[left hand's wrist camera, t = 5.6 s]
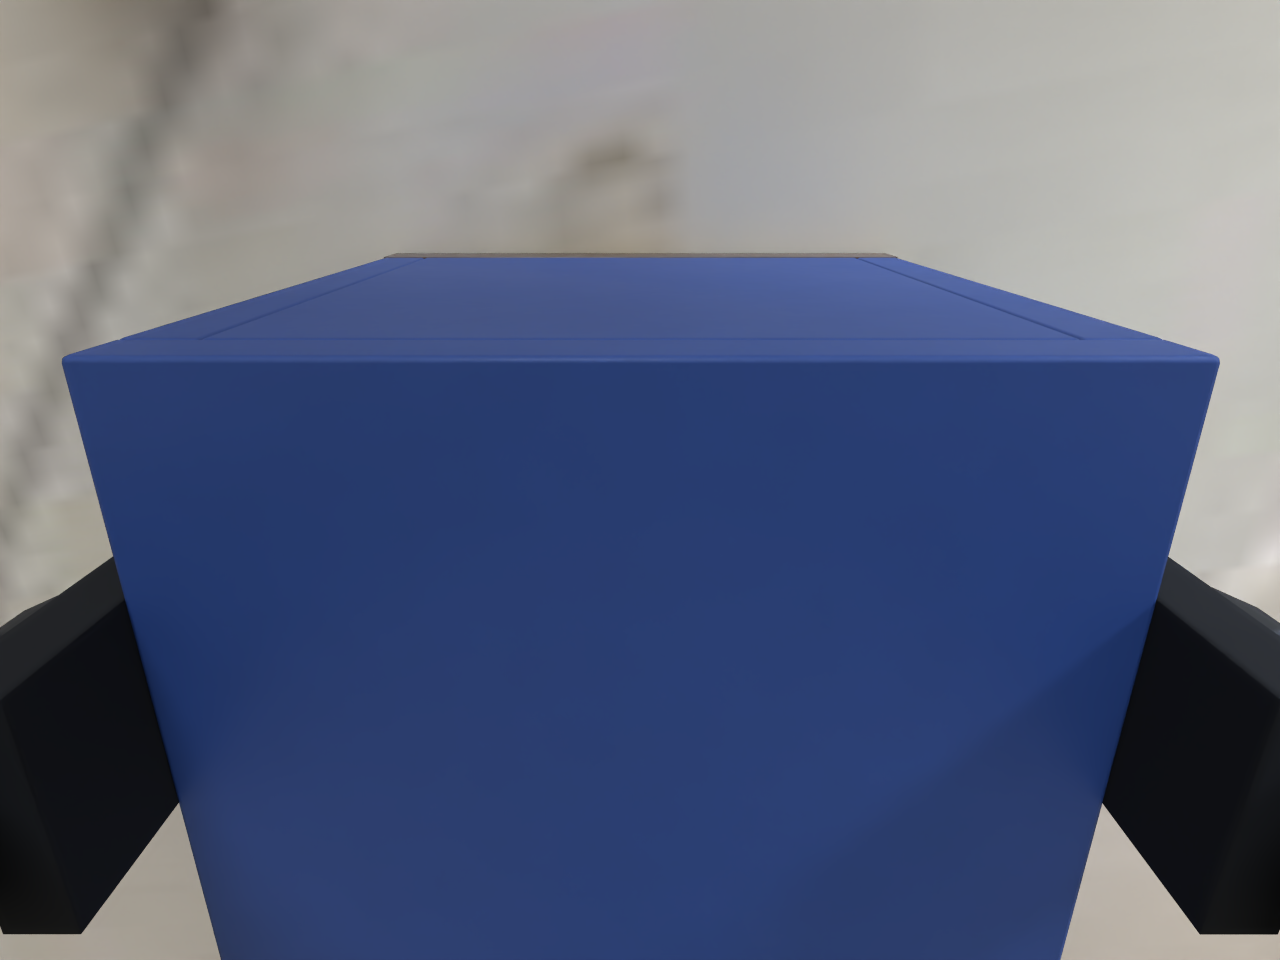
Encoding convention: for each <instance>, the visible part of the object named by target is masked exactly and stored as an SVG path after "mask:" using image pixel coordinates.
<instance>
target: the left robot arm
mask: <svg viewBox="0 0 1280 960" xmlns="http://www.w3.org/2000/svg"><path fill="white" fill-rule="evenodd" d="M178 803H179V800H178V796H177V792H176V789H175V785H174V781H173V777H172V774H171V770H170V766H169V762H168V759H167V755H166V751H165V748H164V744H163V740H162V736H161V733H160V729H159V725H158V721H157V718H156V714H155V710H154V706H153V703H152V699H151V695H150V691H149V688H148V684H147V680H146V676H145V673H144V669H143V665H142V661H141V658H140V654H139V650H138V646H137V643H136V639H135V635H134V631H133V628H132V624H131V620H130V616H129V613H128V609H127V605H126V601H125V598H124V594H123V590H122V586H121V583H120V579H119V575H118V572H117V568H116V564H115V560H114V557H112V558H110V559H109V560H108V561H106V562H105V563H103V564H102V565H101V566H99V567H98V568H96V569H95V570H93V571H92V572H91V573H89V574H88V575H86V576H85V577H84V578H82V579H81V580H79V581H78V582H77V583H75V584H74V585H72V586H71V587H70V588H68V589H67V590H65V591H64V592H63V593H61V594H60V595H58V596H56V597H54V598H51V599H49V600H47V601H45V602H43V603H40V604H38V605H36V606H34V607H31V608H29V609H27V610H25V611H23V612H22V613H20V614H19V615H17V616H16V617H15V618H13V619H12V620H10V621H9V622H7V623H6V624H5V625H3V626H2V627H0V927H1V930H2V932H3V934H82V932H83V931H84V930H85V928H86V927H87V925H88V924H89V923H90V921H91V920H92V919H93V917H94V916H95V915H96V913H97V912H98V911H99V909H100V908H101V907H102V905H103V904H104V903H105V901H106V900H107V899H108V897H109V896H110V895H111V893H112V892H113V890H114V889H115V888H116V886H117V885H118V884H119V882H120V881H121V880H122V878H123V877H124V876H125V874H126V873H127V872H128V870H129V869H130V868H131V866H132V865H133V864H134V862H135V861H136V860H137V858H138V857H139V855H140V854H141V853H142V851H143V850H144V849H145V847H146V846H147V845H148V843H149V842H150V841H151V839H152V838H153V837H154V835H155V834H156V833H157V831H158V830H159V829H160V827H161V826H162V825H163V823H164V822H165V820H166V819H167V818H168V816H169V815H170V814H171V812H172V811H173V810H174V808H175V807H176V806H177V804H178ZM1102 803H1103V804H1104V806H1105V807H1106V809H1107V810H1108V811H1109V813H1110V814H1111V815H1112V817H1113V818H1114V819H1115V821H1116V822H1117V823H1118V825H1119V826H1120V827H1121V829H1122V830H1123V831H1124V833H1125V834H1126V835H1127V837H1128V838H1129V839H1130V841H1131V842H1132V844H1133V845H1134V846H1135V848H1136V849H1137V850H1138V852H1139V853H1140V854H1141V856H1142V857H1143V858H1144V860H1145V861H1146V862H1147V864H1148V865H1149V866H1150V868H1151V869H1152V870H1153V872H1154V873H1155V874H1156V876H1157V877H1158V879H1159V880H1160V881H1161V883H1162V884H1163V885H1164V887H1165V888H1166V889H1167V891H1168V892H1169V893H1170V895H1171V896H1172V897H1173V899H1174V900H1175V901H1176V903H1177V904H1178V905H1179V907H1180V908H1181V909H1182V911H1183V912H1184V914H1185V915H1186V916H1187V918H1188V919H1189V920H1190V922H1191V923H1192V924H1193V926H1194V927H1195V928H1196V930H1197V931H1198V932H1199V934H1278V933H1279V930H1280V623H1279V622H1277V621H1276V620H1275V619H1273V618H1272V617H1270V616H1269V615H1267V614H1266V613H1264V612H1263V611H1261V610H1260V609H1259V608H1257V607H1255V606H1252V605H1250V604H1248V603H1246V602H1243V601H1241V600H1239V599H1237V598H1234V597H1232V596H1230V595H1228V594H1226V593H1223V592H1221V591H1219V590H1217V589H1214V588H1212V587H1210V586H1209V585H1207V584H1206V583H1204V582H1203V581H1202V580H1200V579H1199V578H1197V577H1196V576H1195V575H1193V574H1192V573H1190V572H1189V571H1187V570H1186V569H1185V568H1183V567H1182V566H1180V565H1179V564H1178V563H1176V562H1175V561H1173V560H1172V559H1171V558H1169V557H1168V559H1167V562H1166V566H1165V570H1164V574H1163V577H1162V581H1161V585H1160V589H1159V592H1158V596H1157V600H1156V604H1155V607H1154V611H1153V615H1152V619H1151V622H1150V626H1149V630H1148V633H1147V637H1146V641H1145V645H1144V648H1143V652H1142V656H1141V660H1140V663H1139V667H1138V671H1137V675H1136V678H1135V682H1134V686H1133V690H1132V693H1131V697H1130V701H1129V705H1128V708H1127V712H1126V716H1125V719H1124V723H1123V727H1122V731H1121V734H1120V738H1119V742H1118V746H1117V749H1116V753H1115V757H1114V761H1113V764H1112V768H1111V772H1110V776H1109V779H1108V783H1107V787H1106V791H1105V794H1104V798H1103V802H1102Z"/></svg>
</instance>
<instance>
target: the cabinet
mask: <svg viewBox="0 0 1280 960" xmlns="http://www.w3.org/2000/svg"><path fill="white" fill-rule="evenodd" d="M1219 364H1220V361H1219V358H1218V357H1217V356H1214V355H1212V354H1209V353H1206V352H1202V351H1199V350H1196V349H1192V348H1189V347H1186V346H1183V345H1179V344H1176V343H1173V342H1169V341H1166V340H1162V339H1160V338H1158V337H1154V336H1151V335H1148V334H1144V333H1141V332H1138V331H1134V330H1131V329H1128V328H1125V327H1121V326H1118V325H1115V324H1111V323H1108V322H1105V321H1102V320H1098V319H1095V318H1092V317H1088V316H1085V315H1082V314H1079V313H1075V312H1072V311H1069V310H1065V309H1062V308H1059V307H1056V306H1052V305H1049V304H1046V303H1042V302H1039V301H1036V300H1032V299H1029V298H1026V297H1023V296H1019V295H1016V294H1013V293H1009V292H1006V291H1003V290H1000V289H996V288H993V287H990V286H986V285H983V284H980V283H977V282H973V281H970V280H967V279H963V278H960V277H957V276H954V275H950V274H947V273H944V272H940V271H937V270H934V269H930V268H927V267H924V266H921V265H917V264H914V263H911V262H907V261H904V260H901V259H898V258H897V257H895V256H892V255H888V254H885V253H396V254H393V255H390V256H386V257H384V259H381V260H378V261H374V262H371V263H368V264H364V265H361V266H358V267H355V268H351V269H348V270H345V271H341V272H338V273H335V274H332V275H328V276H325V277H322V278H318V279H315V280H312V281H308V282H305V283H302V284H299V285H295V286H292V287H289V288H285V289H282V290H279V291H276V292H272V293H269V294H266V295H262V296H259V297H256V298H253V299H249V300H246V301H243V302H239V303H236V304H233V305H230V306H226V307H223V308H220V309H216V310H213V311H210V312H206V313H203V314H200V315H197V316H193V317H190V318H187V319H183V320H180V321H177V322H174V323H170V324H167V325H164V326H160V327H157V328H154V329H151V330H147V331H144V332H141V333H137V334H134V335H131V336H128V337H124V338H122V339H120V340H115V341H112V342H109V343H105V344H102V345H99V346H96V347H92V348H89V349H86V350H82V351H79V352H76V353H73V354H69V355H67V356H65V357H64V358H63V359H62V366H63V369H64V373H65V377H66V381H67V384H68V388H69V392H70V396H71V399H72V403H73V407H74V411H75V414H76V418H77V422H78V425H79V429H80V433H81V437H82V440H83V444H84V448H85V452H86V455H87V459H88V463H89V467H90V470H91V474H92V478H93V482H94V485H95V489H96V493H97V497H98V500H99V504H100V508H101V512H102V515H103V519H104V523H105V527H106V530H107V534H108V538H109V542H110V545H111V549H112V553H113V557H114V560H115V564H116V568H117V572H118V575H119V579H120V583H121V586H122V590H123V594H124V598H125V601H126V605H127V609H128V613H129V616H130V620H131V624H132V628H133V631H134V635H135V639H136V643H137V646H138V650H139V654H140V658H141V661H142V665H143V669H144V673H145V676H146V680H147V684H148V688H149V691H150V695H151V699H152V703H153V706H154V710H155V714H156V718H157V721H158V725H159V729H160V733H161V736H162V740H163V744H164V748H165V751H166V755H167V759H168V762H169V766H170V770H171V774H172V777H173V781H174V785H175V789H176V792H177V796H178V800H179V804H180V807H181V811H182V815H183V819H184V822H185V826H186V830H187V834H188V837H189V841H190V845H191V849H192V852H193V856H194V860H195V864H196V867H197V871H198V875H199V879H200V882H201V886H202V890H203V894H204V897H205V901H206V905H207V909H208V912H209V916H210V920H211V923H212V927H213V931H214V935H215V938H216V942H217V946H218V950H219V953H220V957H221V960H1060V959H1061V955H1062V951H1063V948H1064V944H1065V940H1066V936H1067V933H1068V929H1069V925H1070V921H1071V918H1072V914H1073V910H1074V906H1075V903H1076V899H1077V895H1078V891H1079V888H1080V884H1081V880H1082V876H1083V873H1084V869H1085V865H1086V862H1087V858H1088V854H1089V850H1090V847H1091V843H1092V839H1093V835H1094V832H1095V828H1096V824H1097V820H1098V817H1099V813H1100V809H1101V805H1102V802H1103V798H1104V794H1105V791H1106V787H1107V783H1108V779H1109V776H1110V772H1111V768H1112V764H1113V761H1114V757H1115V753H1116V749H1117V746H1118V742H1119V738H1120V734H1121V731H1122V727H1123V723H1124V719H1125V716H1126V712H1127V708H1128V705H1129V701H1130V697H1131V693H1132V690H1133V686H1134V682H1135V678H1136V675H1137V671H1138V667H1139V663H1140V660H1141V656H1142V652H1143V648H1144V645H1145V641H1146V637H1147V633H1148V630H1149V626H1150V622H1151V619H1152V615H1153V611H1154V607H1155V604H1156V600H1157V596H1158V592H1159V589H1160V585H1161V581H1162V577H1163V574H1164V570H1165V566H1166V562H1167V559H1168V555H1169V551H1170V548H1171V544H1172V540H1173V536H1174V533H1175V529H1176V525H1177V521H1178V518H1179V514H1180V510H1181V506H1182V503H1183V499H1184V495H1185V491H1186V488H1187V484H1188V480H1189V476H1190V473H1191V469H1192V465H1193V462H1194V458H1195V454H1196V450H1197V447H1198V443H1199V439H1200V435H1201V432H1202V428H1203V424H1204V420H1205V417H1206V413H1207V409H1208V405H1209V402H1210V398H1211V394H1212V391H1213V387H1214V383H1215V379H1216V376H1217V372H1218V368H1219Z"/></svg>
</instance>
